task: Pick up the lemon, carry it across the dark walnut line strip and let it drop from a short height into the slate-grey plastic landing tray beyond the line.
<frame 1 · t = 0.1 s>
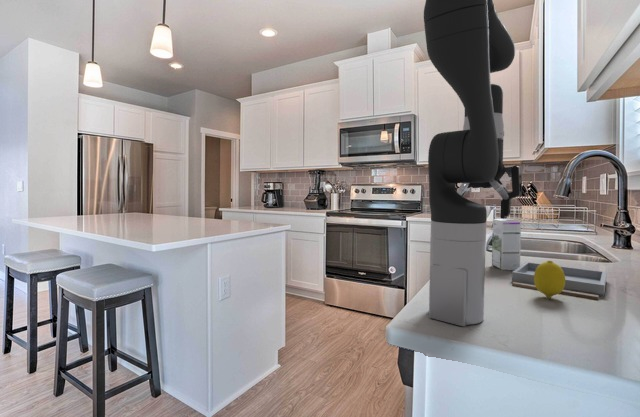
hand: (481, 217, 71), 17 cm above the counter, tool pointing down, fingers open, 8 cm apart
syrup box: (505, 268, 100), on the counter
throw line: (552, 291, 77), on the counter
lemon: (548, 298, 72), on the counter
landing tray: (559, 281, 85), on the counter
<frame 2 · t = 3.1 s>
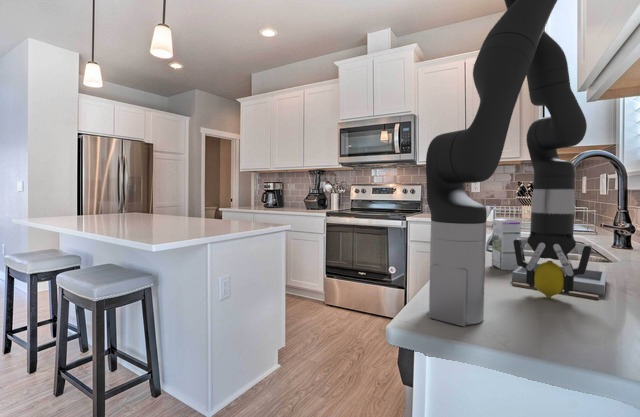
hand: (549, 289, 72), 2 cm above the counter, tool pointing down, fingers closed on lemon, 5 cm apart
lemon: (548, 298, 72), on the counter, touching gripper
everything else where it was.
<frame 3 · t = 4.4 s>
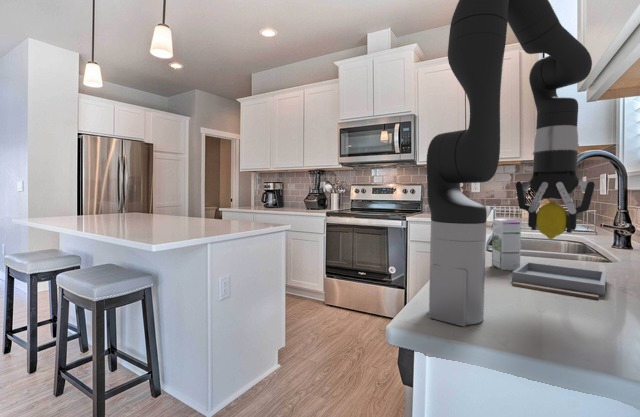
hand: (551, 230, 71), 14 cm above the counter, tool pointing down, fingers closed on lemon, 5 cm apart
lemon: (550, 240, 71), point 12 cm above the counter, touching gripper
everything else where it was.
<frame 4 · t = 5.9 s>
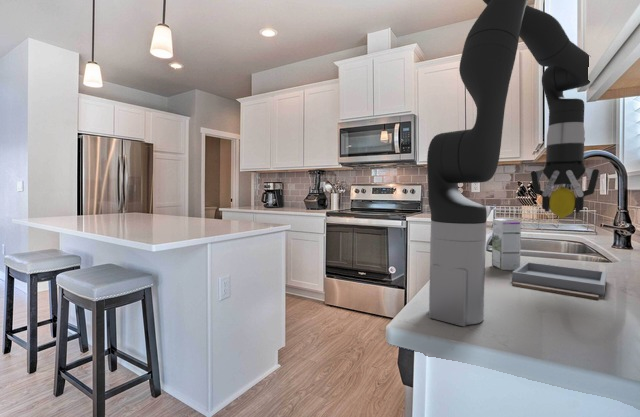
hand: (562, 211, 84), 18 cm above the counter, tool pointing down, fingers closed on lemon, 5 cm apart
lemon: (561, 219, 84), point 16 cm above the counter, touching gripper
everything else where it was.
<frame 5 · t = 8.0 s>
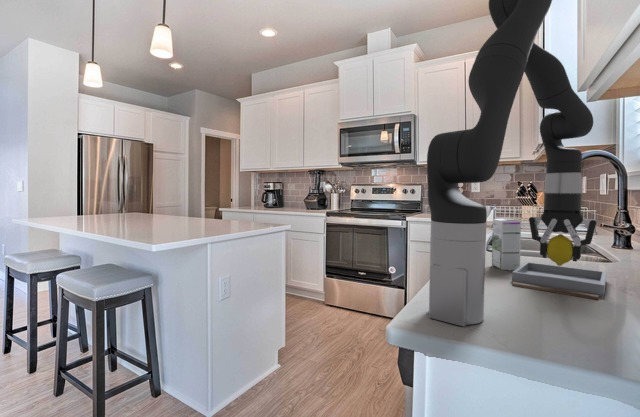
hand: (559, 258, 85), 6 cm above the counter, tool pointing down, fingers closed on lemon, 5 cm apart
lemon: (559, 266, 85), point 4 cm above the counter, touching gripper
everything else where it was.
when the fingers open (5 cm above the counter, at t = 9.2 s): lemon drops 2 cm, resting on landing tray.
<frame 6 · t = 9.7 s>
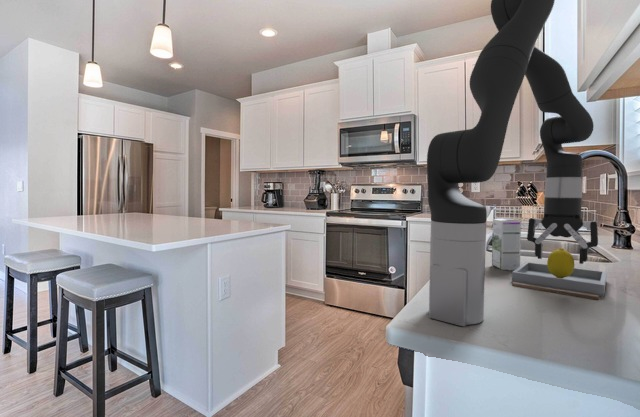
hand: (560, 260, 85), 5 cm above the counter, tool pointing down, fingers open, 8 cm apart
lemon: (559, 280, 85), resting on landing tray
everything else where it was.
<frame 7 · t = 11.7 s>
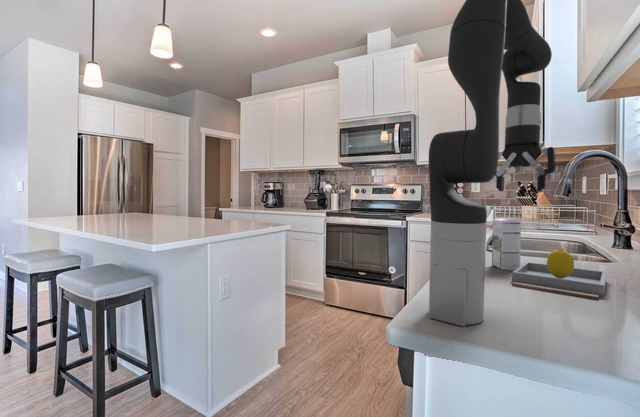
hand: (519, 191, 85), 23 cm above the counter, tool pointing down, fingers open, 8 cm apart
nothing on the counter moved.
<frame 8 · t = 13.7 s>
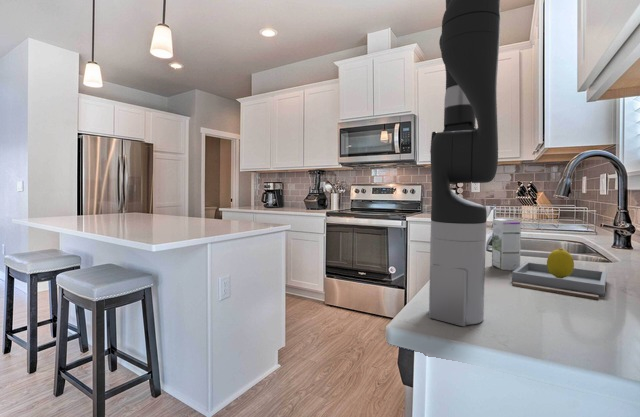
hand: (458, 170, 88), 28 cm above the counter, tool pointing down, fingers open, 8 cm apart
nothing on the counter moved.
at the end: lemon inside the target area on the landing tray (0.1 cm from its centre), point 0.3 cm above the landing tray's base; the gripper is holding nothing; syrup box moved 0.2 cm from its start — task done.
